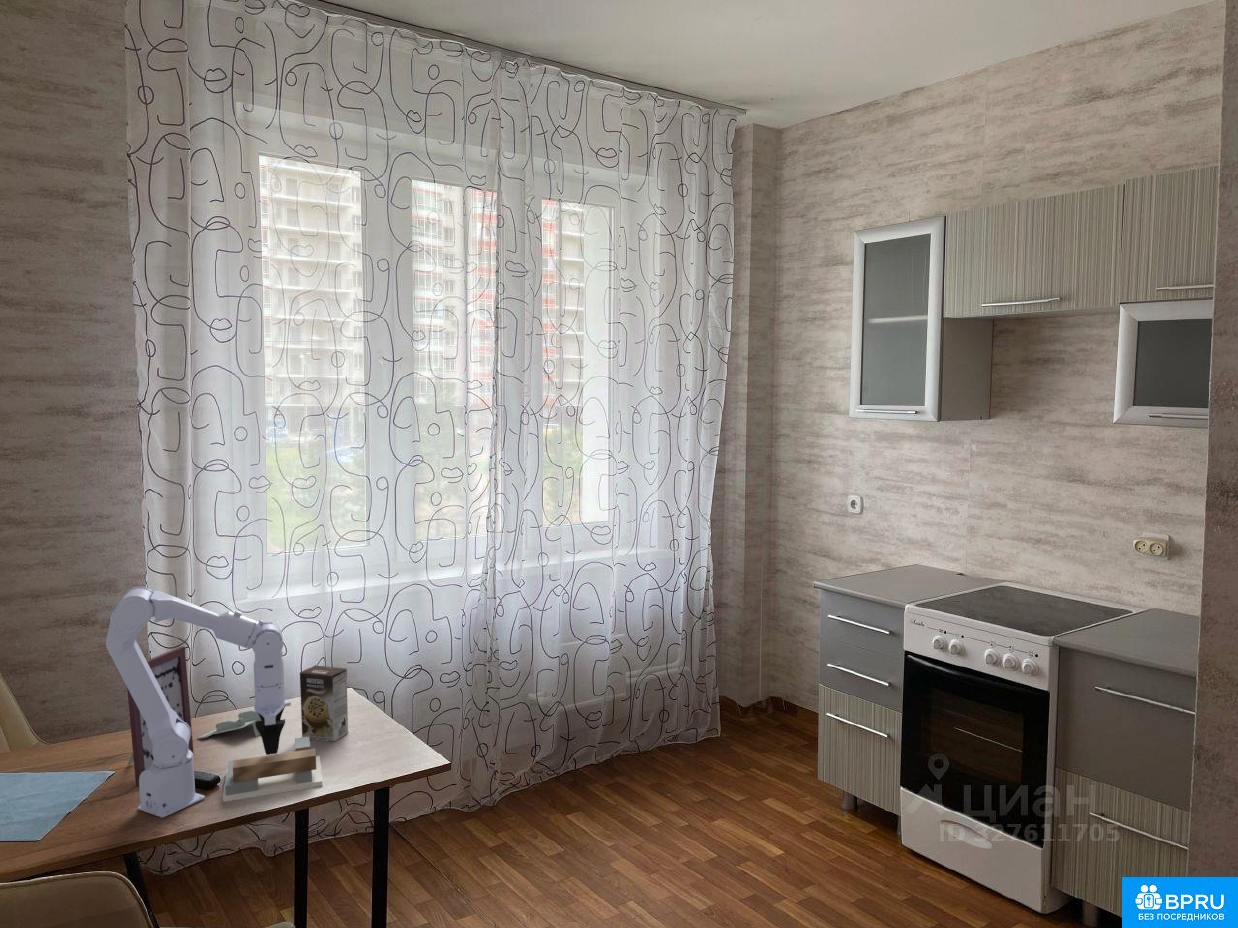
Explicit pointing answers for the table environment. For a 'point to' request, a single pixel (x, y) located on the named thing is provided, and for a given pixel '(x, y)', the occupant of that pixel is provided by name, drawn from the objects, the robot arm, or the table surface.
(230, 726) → the metal bracket
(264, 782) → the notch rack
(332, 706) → the coffee box
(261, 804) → the table surface
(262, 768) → the walnut bar
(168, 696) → the picture frame
